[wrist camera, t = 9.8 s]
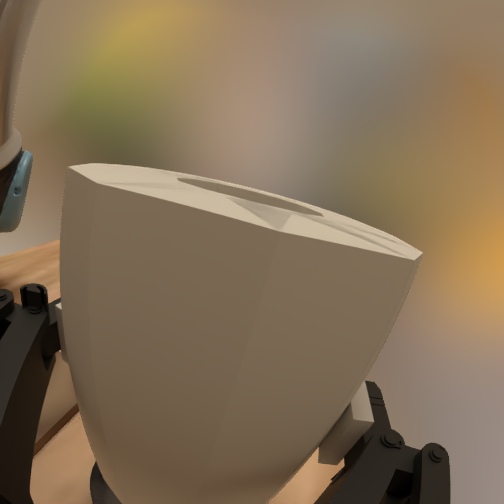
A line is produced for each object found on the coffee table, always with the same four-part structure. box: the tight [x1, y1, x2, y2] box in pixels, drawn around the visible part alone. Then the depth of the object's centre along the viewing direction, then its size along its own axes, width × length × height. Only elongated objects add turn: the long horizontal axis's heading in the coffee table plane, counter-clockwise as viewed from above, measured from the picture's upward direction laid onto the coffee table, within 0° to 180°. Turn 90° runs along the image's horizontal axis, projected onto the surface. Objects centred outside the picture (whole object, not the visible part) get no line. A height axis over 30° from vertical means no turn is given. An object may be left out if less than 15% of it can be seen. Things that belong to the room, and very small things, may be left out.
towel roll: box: [60, 163, 423, 504], centre depth 10 cm, size 10×10×15 cm
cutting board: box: [33, 351, 79, 456], centre depth 17 cm, size 16×16×1 cm
